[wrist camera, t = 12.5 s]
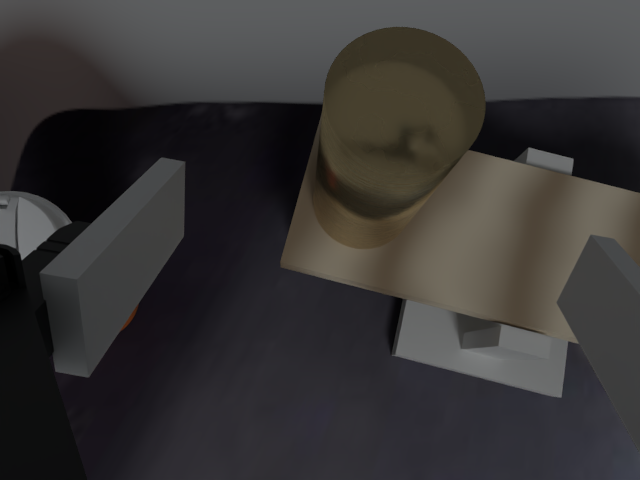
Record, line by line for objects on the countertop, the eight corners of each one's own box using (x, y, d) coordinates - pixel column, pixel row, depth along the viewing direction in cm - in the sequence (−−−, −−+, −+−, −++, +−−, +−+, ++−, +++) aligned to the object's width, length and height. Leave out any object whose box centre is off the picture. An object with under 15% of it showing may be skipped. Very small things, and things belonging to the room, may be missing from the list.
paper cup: (54, 248, 36) (-88, 179, 23) (159, 250, 37) (80, 183, 23) (39, 355, 34) (-127, 350, 21) (149, 356, 35) (57, 352, 21)
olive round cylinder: (430, 213, 30) (518, 116, 18) (351, 268, 29) (390, 204, 17) (371, 138, 31) (418, 1, 19) (293, 189, 30) (292, 77, 18)
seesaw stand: (574, 196, 40) (643, 155, 32) (550, 396, 36) (621, 404, 28) (330, 134, 40) (339, 78, 32) (279, 325, 36) (275, 315, 28)
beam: (747, 240, 33) (837, 215, 28) (743, 389, 31) (842, 395, 25) (319, 132, 34) (324, 87, 28) (281, 270, 31) (278, 250, 26)
